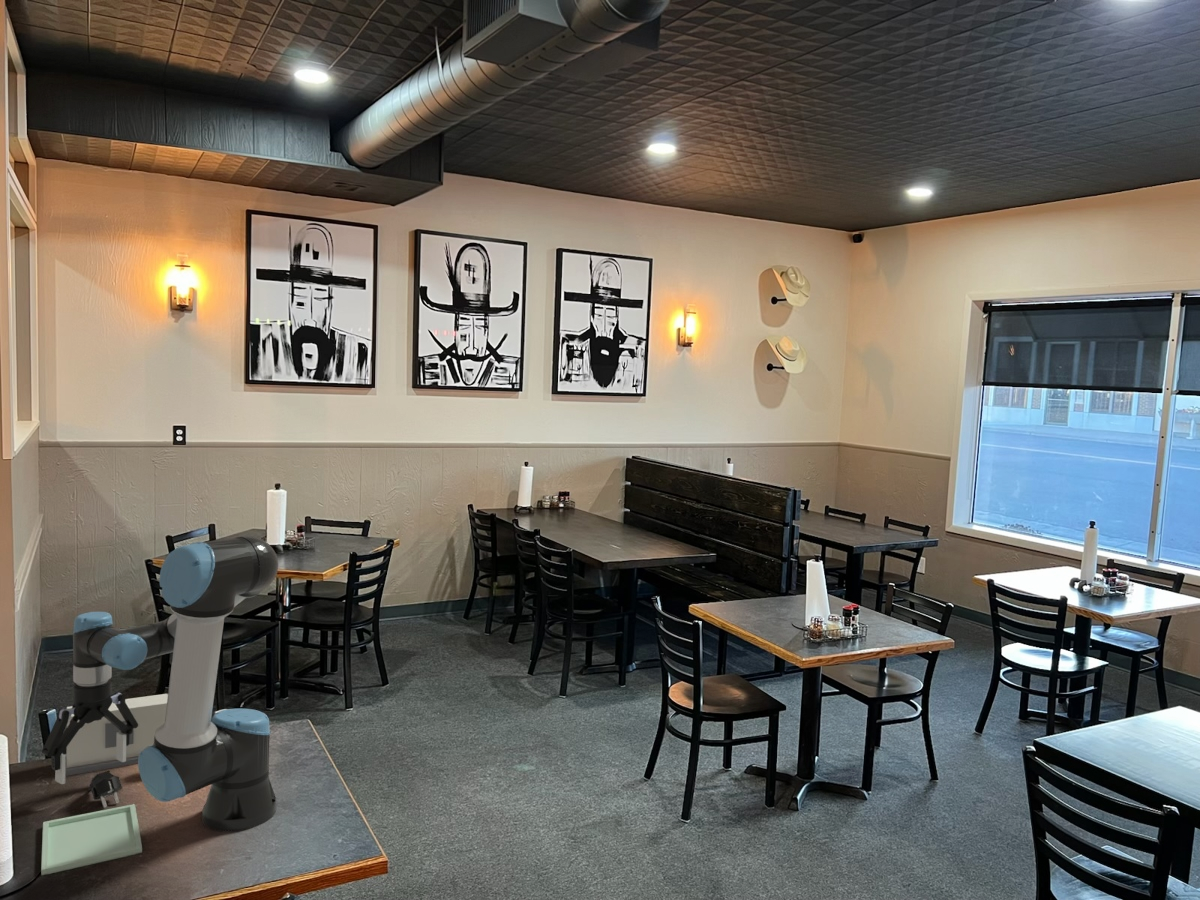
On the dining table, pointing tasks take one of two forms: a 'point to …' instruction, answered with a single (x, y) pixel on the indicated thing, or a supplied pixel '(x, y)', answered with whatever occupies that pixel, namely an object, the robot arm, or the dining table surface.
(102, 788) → the power plug
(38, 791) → the dining table surface
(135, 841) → the tray
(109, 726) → the box
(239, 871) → the dining table surface
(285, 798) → the dining table surface
